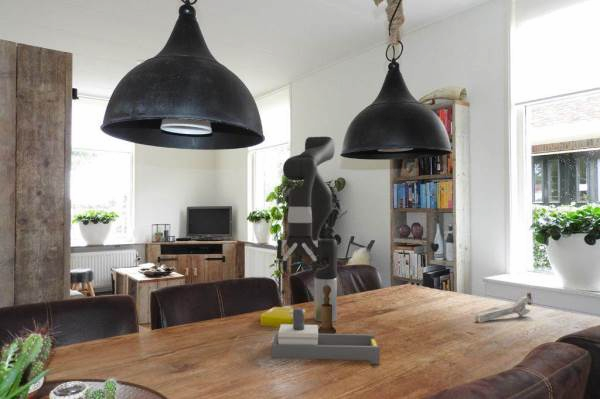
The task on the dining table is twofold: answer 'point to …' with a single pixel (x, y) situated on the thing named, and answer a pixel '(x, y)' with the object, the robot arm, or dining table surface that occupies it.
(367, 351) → the bay
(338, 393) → the dining table surface
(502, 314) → the wrench
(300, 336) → the white plate with knob
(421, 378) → the dining table surface
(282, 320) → the element tile
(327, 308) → the brown wooden tall piece
